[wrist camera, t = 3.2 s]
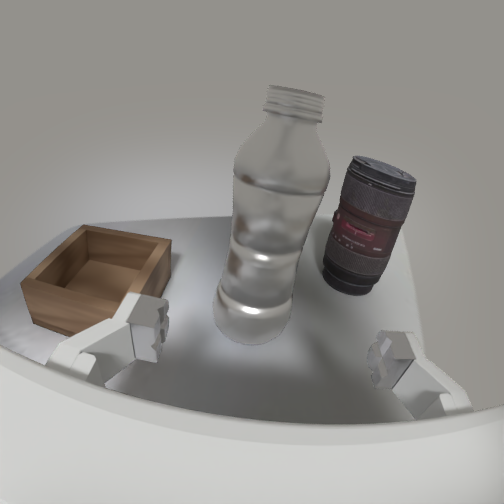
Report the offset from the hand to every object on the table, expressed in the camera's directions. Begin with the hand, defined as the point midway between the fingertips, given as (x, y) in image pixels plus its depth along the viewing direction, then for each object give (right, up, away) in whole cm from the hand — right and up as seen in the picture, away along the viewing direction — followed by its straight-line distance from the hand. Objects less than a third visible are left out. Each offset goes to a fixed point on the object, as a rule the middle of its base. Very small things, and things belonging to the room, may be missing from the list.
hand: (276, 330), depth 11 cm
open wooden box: (-15, -2, +16) cm, 22 cm away
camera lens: (+11, -1, +26) cm, 28 cm away
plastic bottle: (-1, -4, +16) cm, 17 cm away
